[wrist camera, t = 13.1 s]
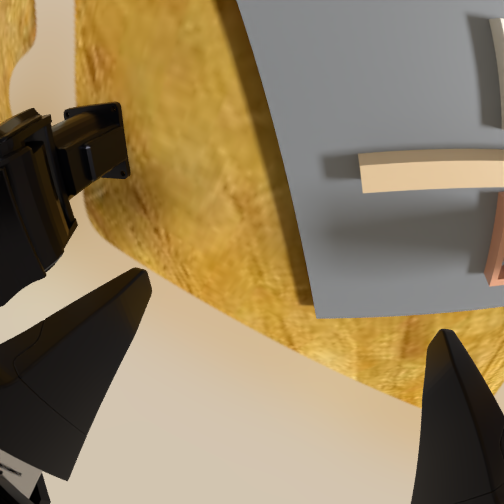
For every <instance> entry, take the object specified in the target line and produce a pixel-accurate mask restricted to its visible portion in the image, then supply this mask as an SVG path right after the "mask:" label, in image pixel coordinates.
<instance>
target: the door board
mask: <svg viewBox="0 0 504 504" xmlns="http://www.w3.org/2000/svg"><path fill="white" fill-rule="evenodd" d="M236 1H237V4H238V7H239V10H240V13H241V16H242V19H243V22H244V25H245V28H246V31H247V34H248V37H249V41H250V44H251V47H252V50H253V54H254V57H255V60H256V64H257V67H258V70H259V74H260V77H261V81H262V84H263V88H264V91H265V95H266V98H267V102H268V105H269V109H270V113H271V116H272V120H273V124H274V128H275V132H276V135H277V139H278V143H279V147H280V151H281V155H282V159H283V163H284V167H285V171H286V175H287V179H288V184H289V188H290V192H291V196H292V201H293V205H294V210H295V214H296V218H297V223H298V228H299V232H300V237H301V241H302V246H303V251H304V256H305V261H306V266H307V271H308V276H309V281H310V286H311V291H312V296H313V302H314V307H315V313H316V318H362V317H387V316H405V315H421V314H434V313H447V312H458V311H468V310H477V309H486V308H495V307H503V306H504V285H499V286H490V287H489V285H488V282H487V280H486V277H485V275H484V270H485V266H486V262H487V258H488V253H489V248H490V244H491V239H492V233H493V228H494V222H495V215H496V208H497V201H498V192H504V130H502V116H501V97H500V85H499V75H498V67H497V60H496V53H495V47H494V42H493V36H492V32H491V27H490V23H489V19H495V18H503V19H504V0H236ZM502 265H504V261H503V262H502Z"/></svg>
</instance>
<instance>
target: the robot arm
mask: <svg viewBox="0 0 504 504" xmlns="http://www.w3.org/2000/svg"><path fill="white" fill-rule="evenodd" d="M114 107H115V108H116V110H114ZM64 119H65V120H64V121H62V122H60V123H58V124H56V125H54V126H52V127H51V122H52V120H51V115H50V114H49V115H44V116H42V115H40V114H38V112H36V110H35V109H34V108H31V109H28V110H26V111H23V112H21V113H19V114H17V115H15V116H13V117H11V118H9V119H7V120H6V121H4V122H3V123H1V124H0V307H1V306H3V305H5V304H6V303H7V302H8V301H9V300H10V299H11V298H12V297H13V296H14V295H15V294H17V293H18V292H19V291H20V290H21V289H23V288H24V287H26V286H28V285H29V284H31V283H32V282H35V281H37V280H40V279H42V278H45V277H46V272H47V271H48V270H50V269H51V267H53V266H54V265H55V263H56V262H57V261H58V259H59V258H60V257H61V256H62V254H63V253H64V248H65V246H66V244H67V243H68V241H69V239H70V238H71V236H72V234H73V232H74V231H75V229H76V227H77V226H78V224H77V221H76V219H75V218H74V215H73V212H72V209H71V206H70V202H69V200H70V199H71V198H72V197H74V196H75V195H77V194H78V193H79V192H81V191H82V190H83V189H85V188H86V187H87V186H89V185H90V184H91V183H93V182H94V181H96V180H97V179H99V178H100V177H102V178H116V179H126V178H127V177H128V176H130V168H129V161H128V155H127V148H126V141H125V134H124V127H123V118H122V110H121V105H120V103H118V102H109V103H101V104H93V105H86V106H80V107H73V108H69V109H67V110H65V111H64ZM123 171H124V172H125V174H124V172H123ZM151 294H152V287H151V284H150V280H149V276H148V273H147V271H146V270H144V269H140V268H132V269H130V270H129V271H127V272H125V273H123V274H121V275H120V276H118V277H116V278H114V279H112V280H111V281H109V282H107V283H105V284H104V285H102V286H100V287H98V288H97V289H95V290H93V291H92V292H90V293H88V294H86V295H85V296H83V297H81V298H80V299H78V300H76V301H74V302H73V303H71V304H69V305H68V306H66V307H65V308H63V309H61V310H59V311H58V312H56V313H54V314H53V315H51V316H49V317H48V318H46V319H45V320H43V321H41V322H39V323H38V324H36V325H34V326H33V327H31V328H29V329H28V330H26V331H25V332H22V333H21V334H19V335H17V336H15V337H14V338H12V339H9V340H7V341H6V342H4V343H2V344H0V504H50V502H51V501H50V498H49V495H48V492H47V489H46V485H45V482H44V478H43V475H42V471H44V472H46V473H49V474H51V475H53V476H56V477H58V478H60V479H63V480H66V481H68V479H69V477H70V475H71V472H72V470H73V467H74V465H75V463H76V460H77V458H78V455H79V453H80V451H81V448H82V446H83V444H84V441H85V439H86V437H87V434H88V432H89V429H90V427H91V425H92V423H93V421H94V418H95V416H96V414H97V411H98V409H99V407H100V405H101V403H102V401H103V399H104V397H105V395H106V392H107V390H108V388H109V386H110V384H111V382H112V380H113V378H114V376H115V374H116V372H117V370H118V368H119V366H120V364H121V362H122V360H123V358H124V356H125V354H126V352H127V350H128V348H129V346H130V344H131V342H132V340H133V338H134V336H135V334H136V331H137V329H138V327H139V324H140V321H141V319H142V316H143V314H144V312H145V309H146V307H147V304H148V302H149V299H150V297H151ZM411 504H504V415H503V413H502V411H501V409H500V407H499V405H498V403H497V402H496V400H495V398H494V396H493V394H492V392H491V391H490V389H489V387H488V385H487V384H486V382H485V380H484V378H483V377H482V375H481V373H480V372H479V370H478V368H477V367H476V365H475V363H474V362H473V360H472V359H471V357H470V355H469V354H468V352H467V351H466V349H465V348H464V346H463V345H462V343H461V341H460V340H459V338H458V337H457V335H456V334H455V332H454V331H452V330H449V329H441V330H439V331H438V333H437V334H436V336H435V337H434V338H433V340H432V341H431V343H430V344H429V346H428V349H427V356H426V368H425V378H424V387H423V396H422V417H421V432H420V445H419V454H418V462H417V470H416V477H415V483H414V489H413V496H412V501H411Z"/></svg>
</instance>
